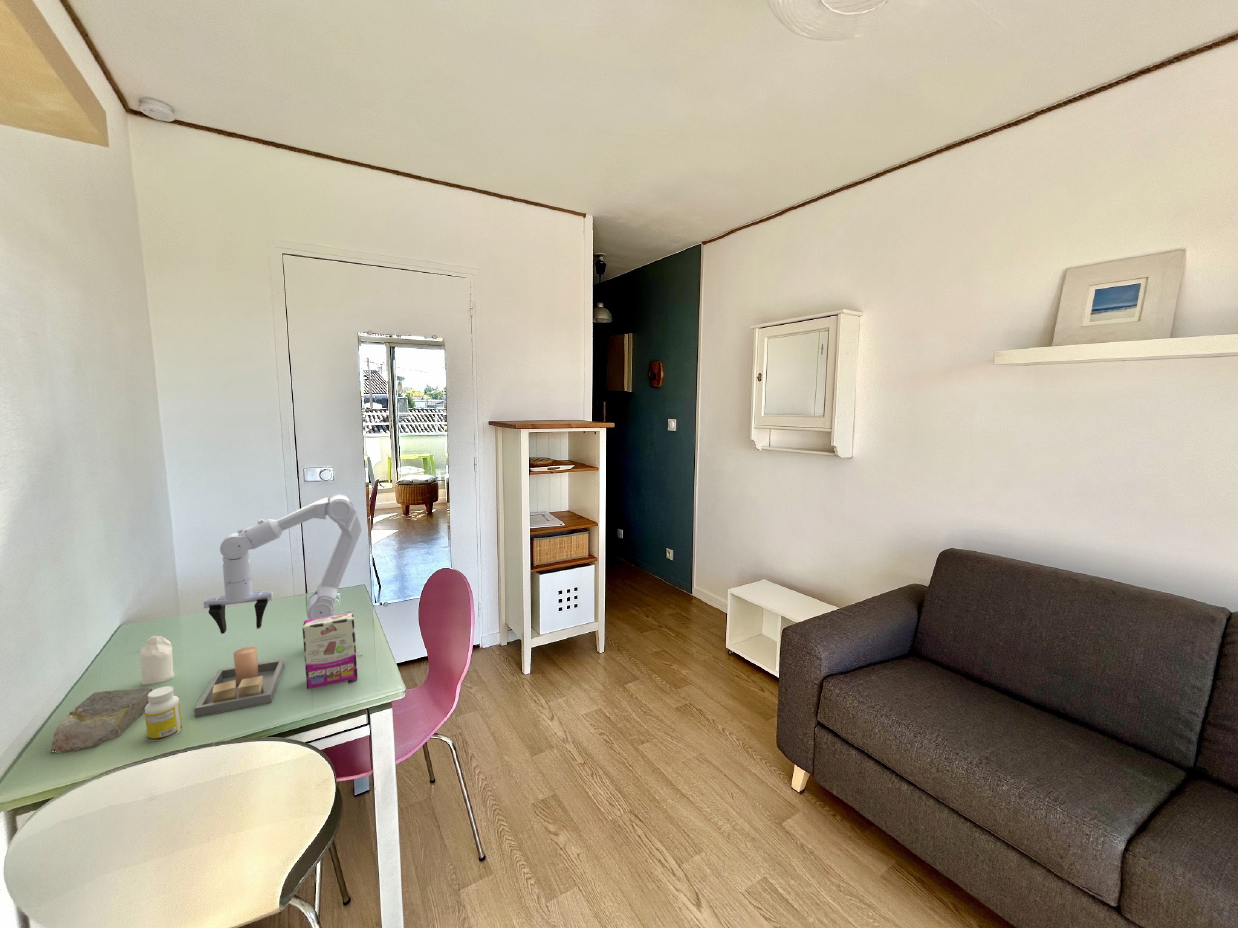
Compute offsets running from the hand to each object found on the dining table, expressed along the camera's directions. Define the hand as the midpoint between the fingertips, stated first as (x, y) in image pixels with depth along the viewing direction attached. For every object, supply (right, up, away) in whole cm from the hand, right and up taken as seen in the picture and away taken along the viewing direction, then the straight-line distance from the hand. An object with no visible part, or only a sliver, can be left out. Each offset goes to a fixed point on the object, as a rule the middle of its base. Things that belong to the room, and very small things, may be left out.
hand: (241, 629), depth 134 cm
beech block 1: (+9, -11, -17) cm, 22 cm away
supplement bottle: (+4, -13, -27) cm, 31 cm away
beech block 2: (+13, -11, -15) cm, 23 cm away
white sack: (-16, -11, -7) cm, 20 cm away
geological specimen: (-10, -13, -25) cm, 30 cm away
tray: (+9, -11, -11) cm, 18 cm away
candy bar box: (+27, -11, -6) cm, 30 cm away
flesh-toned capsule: (+7, -10, -8) cm, 15 cm away
